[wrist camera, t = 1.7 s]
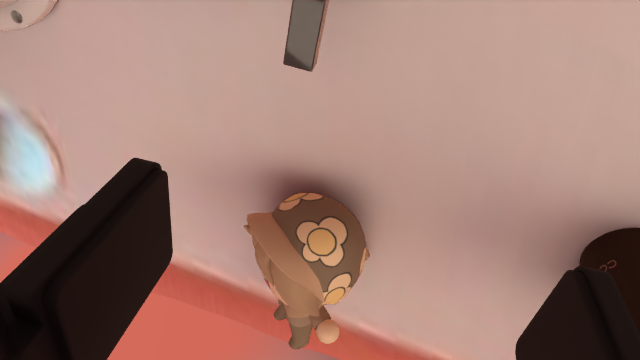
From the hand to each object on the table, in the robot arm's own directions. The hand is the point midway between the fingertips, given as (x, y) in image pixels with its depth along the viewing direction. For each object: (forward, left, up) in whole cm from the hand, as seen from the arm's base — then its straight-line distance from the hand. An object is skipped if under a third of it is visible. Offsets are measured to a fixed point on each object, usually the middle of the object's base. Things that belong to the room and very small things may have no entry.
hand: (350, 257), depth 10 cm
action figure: (-2, -20, -21) cm, 29 cm away
